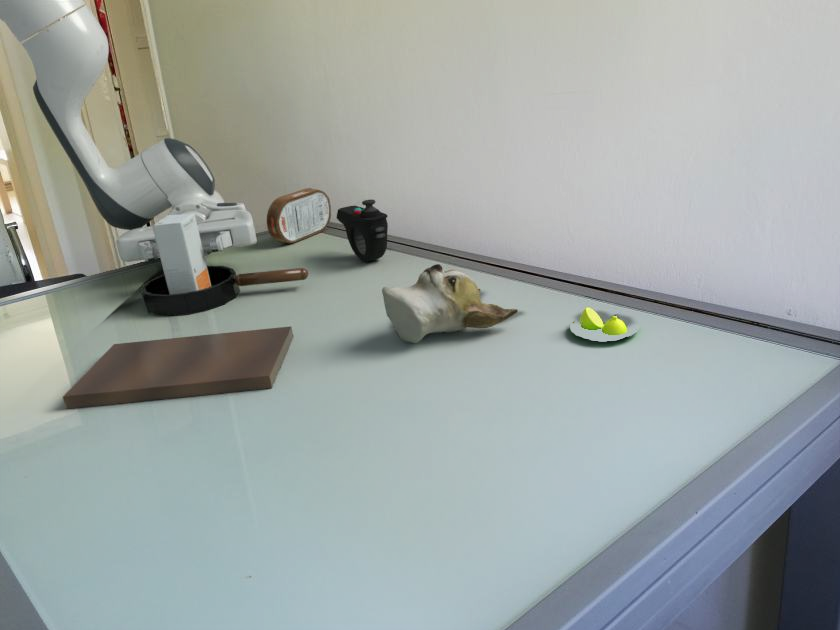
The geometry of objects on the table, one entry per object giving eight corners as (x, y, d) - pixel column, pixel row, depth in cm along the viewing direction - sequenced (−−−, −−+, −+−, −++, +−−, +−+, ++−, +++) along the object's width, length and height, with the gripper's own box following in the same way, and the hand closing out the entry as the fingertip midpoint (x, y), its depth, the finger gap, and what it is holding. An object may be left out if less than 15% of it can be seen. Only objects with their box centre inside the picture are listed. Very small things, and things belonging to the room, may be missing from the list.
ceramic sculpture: (364, 263, 86) (476, 244, 92) (370, 331, 89) (477, 309, 95) (399, 287, 77) (520, 264, 83) (404, 362, 80) (520, 335, 86)
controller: (373, 269, 113) (364, 206, 109) (339, 254, 122) (329, 195, 118) (397, 263, 115) (389, 200, 111) (362, 248, 125) (353, 190, 120)
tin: (324, 226, 142) (317, 183, 138) (337, 227, 140) (330, 183, 137) (270, 248, 130) (260, 201, 127) (282, 249, 129) (273, 202, 125)
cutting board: (66, 409, 77) (62, 396, 77) (117, 354, 90) (113, 343, 90) (272, 388, 77) (269, 375, 77) (293, 337, 90) (291, 326, 90)
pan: (133, 320, 101) (126, 299, 100) (163, 288, 114) (158, 270, 112) (304, 302, 102) (300, 281, 100) (316, 273, 114) (313, 254, 112)
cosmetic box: (201, 304, 105) (180, 222, 100) (172, 306, 105) (150, 225, 100) (213, 289, 110) (195, 212, 105) (186, 292, 110) (166, 214, 106)
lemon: (563, 344, 81) (562, 321, 80) (574, 317, 88) (574, 295, 87) (637, 347, 78) (637, 323, 77) (642, 319, 85) (643, 297, 84)
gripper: (122, 218, 115) (100, 239, 103) (253, 201, 118) (248, 220, 106) (132, 256, 118) (113, 282, 105) (261, 239, 121) (257, 261, 108)
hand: (182, 250), depth 105 cm, fingers open, 8 cm apart
